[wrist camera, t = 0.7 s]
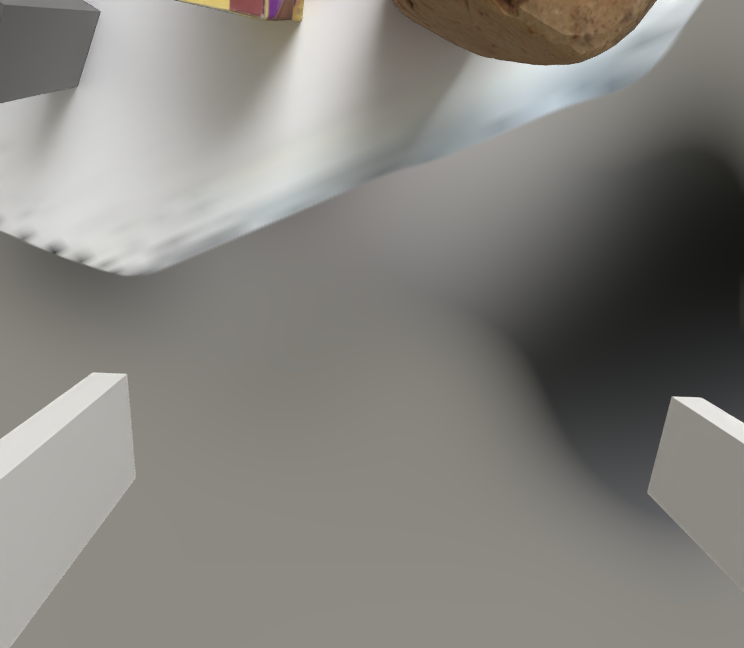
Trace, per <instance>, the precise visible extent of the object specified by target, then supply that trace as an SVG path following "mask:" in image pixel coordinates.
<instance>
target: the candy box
mask: <svg viewBox="0 0 744 648" xmlns="http://www.w3.org/2000/svg"><path fill="white" fill-rule="evenodd" d="M176 1H180V2H185V3H189V4H194V5H198V6H202V7H206V8H211V9H215V10H219V11H224V12H228V13H232V14H237V15H241V16H246V17H250V18H255V19H259V20H273V21H278V20H293V21H302V14H303V4H304V0H176Z"/></svg>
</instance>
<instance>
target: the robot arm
mask: <svg viewBox="0 0 744 648" xmlns="http://www.w3.org/2000/svg"><path fill="white" fill-rule="evenodd" d="M135 478H136V473H135V461H134V449H133V437H132V425H131V413H130V401H129V389H128V379H127V374H115V373H92V374H90V375H89V376H88V377H86V378H85V379H83V380H82V381H81V382H79V383H78V384H76V385H75V386H74V387H72V388H71V389H70V390H68V391H67V392H65V393H64V394H63V395H61V396H60V397H58V398H57V399H56V400H54V401H53V402H52V403H50V404H49V405H48V406H46V407H44V408H43V409H42V410H40V411H39V412H37V413H36V414H35V415H33V416H32V417H30V418H29V419H28V420H26V421H25V422H23V423H22V424H21V425H19V426H18V427H17V428H15V429H14V430H13V431H11V432H10V433H8V434H7V435H5V436H4V437H3V438H1V439H0V648H10V647H11V646H12V644H13V643H14V641H15V640H16V639H17V637H18V636H19V635H20V633H21V632H22V631H23V629H24V628H25V627H26V625H27V624H28V623H29V621H30V620H31V619H32V617H33V616H34V615H35V613H36V612H37V611H38V609H39V608H40V606H41V605H42V604H43V602H44V601H45V600H46V598H47V597H48V596H49V594H50V593H51V592H52V590H53V589H54V588H55V586H56V585H57V583H58V582H59V581H60V579H61V578H62V577H63V575H64V574H65V573H66V571H67V570H68V569H69V567H70V566H71V565H72V563H73V562H74V560H75V559H76V558H77V556H78V555H79V554H80V552H81V551H82V550H83V548H84V547H85V546H86V544H87V543H88V542H89V540H90V539H91V538H92V536H93V535H94V533H95V532H96V531H97V529H98V528H99V527H100V526H101V524H102V523H103V521H104V520H105V519H106V517H107V516H108V515H109V513H110V512H111V511H112V509H113V508H114V507H115V505H116V504H117V503H118V501H119V500H120V499H121V497H122V496H123V494H124V493H125V492H126V490H127V489H128V488H129V486H130V485H131V484H132V482H133V481H134V480H135ZM647 493H648V494H649V495H650V496H651V497H652V498H653V499H654V500H655V501H656V502H657V503H658V504H659V505H660V506H661V507H662V508H663V509H664V511H665V512H667V514H668V515H669V516H670V517H671V518H672V519H673V520H674V521H675V522H676V523H677V524H678V525H679V526H680V527H681V528H682V529H683V530H684V531H685V532H686V533H687V534H688V535H689V536H690V537H691V538H692V539H693V540H694V541H695V542H696V544H697V545H698V546H699V547H700V548H701V549H702V550H704V552H705V553H706V554H707V555H708V556H709V557H710V558H711V559H712V560H713V561H714V562H715V563H716V564H717V565H718V566H719V567H720V568H721V569H722V570H723V571H724V572H725V573H726V574H727V575H728V576H729V577H730V579H731V580H732V581H733V582H734V583H735V584H736V585H737V586H738V587H740V589H741V590H742V591H743V592H744V423H742V422H741V421H739V420H737V419H736V418H734V417H733V416H731V415H729V414H728V413H726V412H724V411H723V410H721V409H719V408H718V407H716V406H714V405H713V404H711V403H709V402H708V401H706V400H704V399H703V398H694V397H672V398H671V402H670V406H669V410H668V414H667V418H666V422H665V426H664V429H663V433H662V437H661V441H660V445H659V449H658V453H657V456H656V460H655V464H654V468H653V472H652V476H651V480H650V484H649V488H648V492H647Z"/></svg>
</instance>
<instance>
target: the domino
mask: <svg viewBox="0 0 744 648" xmlns="http://www.w3.org/2000/svg"><path fill="white" fill-rule="evenodd" d="M99 15H100V11H99V10H97V9H96V8H94V7H93V6H91V5H90V4H88V3H86V2H85V1H83V0H0V103H4V102H8V101H13V100H17V99H22V98H26V97H31V96H36V95H40V94H45V93H49V92H54V91H59V90H63V89H68V88H72V87H77V86H78V84H79V80H80V77H81V74H82V70H83V67H84V64H85V61H86V57H87V54H88V51H89V47H90V44H91V41H92V38H93V34H94V31H95V28H96V24H97V21H98V18H99Z"/></svg>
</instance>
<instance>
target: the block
mask: <svg viewBox="0 0 744 648" xmlns="http://www.w3.org/2000/svg"><path fill="white" fill-rule="evenodd" d="M656 1H657V0H393V2H394V4H395V6H396V7H397V8H398V9H399V10H400V11H401V12H402V13H403V14H404V15H406V16H407V17H408V18H410V19H411V20H413V21H414V22H416V23H418V24H420V25H422V26H423V27H425V28H427V29H428V30H430V31H432V32H434V33H435V34H437V35H439V36H441V37H443V38H444V39H446V40H448V41H450V42H452V43H454V44H456V45H458V46H460V47H462V48H464V49H466V50H468V51H471V52H473V53H475V54H478V55H480V56H484V57H487V58H494V59H498V60H505V61H513V62H518V63H526V64H532V65H569V64H575V63H580V62H583V61H585V60H588V59H590V58H593V57H595V56H597V55H599V54H601V53H603V52H605V51H607V50H608V49H610V48H612V47H613V46H615V45H616V44H617V43H618V42H620V41H621V40H622V39H623V38H624V37H626V36H627V35H628V34H629V33H630V32H631V31H633V30H634V29H635V28H636V26H637V25H638V24H639V23H640V21H641V20H642V19H643V17H644V16H645V15H646V14H647V12H648V11H649V10H650V8H651V7H652V6H653V5H654V3H655V2H656Z"/></svg>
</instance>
